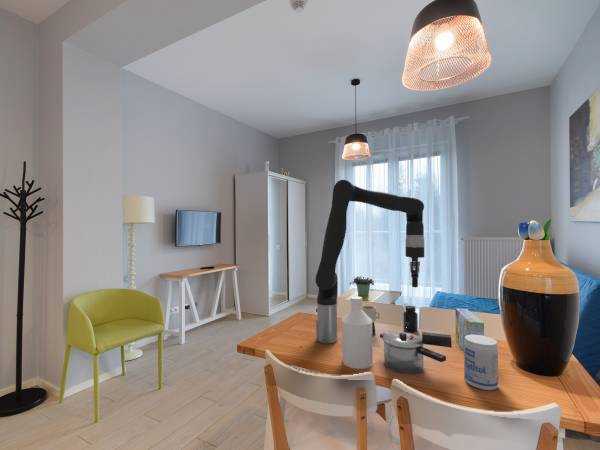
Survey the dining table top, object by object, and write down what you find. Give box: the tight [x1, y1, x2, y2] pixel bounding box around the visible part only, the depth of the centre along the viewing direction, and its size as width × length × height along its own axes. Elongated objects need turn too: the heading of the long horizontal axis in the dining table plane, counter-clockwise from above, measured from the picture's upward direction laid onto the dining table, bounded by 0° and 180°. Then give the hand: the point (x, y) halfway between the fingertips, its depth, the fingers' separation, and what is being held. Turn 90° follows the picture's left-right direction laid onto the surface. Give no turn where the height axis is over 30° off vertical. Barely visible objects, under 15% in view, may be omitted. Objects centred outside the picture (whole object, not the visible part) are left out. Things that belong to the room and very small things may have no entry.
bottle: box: [341, 295, 373, 370], centre depth 113 cm, size 12×12×25 cm
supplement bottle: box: [402, 305, 419, 333], centre depth 148 cm, size 7×7×12 cm
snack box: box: [455, 308, 485, 352], centre depth 123 cm, size 21×6×15 cm, turn 166°
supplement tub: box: [463, 335, 499, 391], centre depth 96 cm, size 10×10×15 cm
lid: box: [382, 331, 452, 349], centre depth 108 cm, size 24×15×4 cm, turn 68°
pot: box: [379, 332, 447, 375], centre depth 108 cm, size 27×14×9 cm, turn 32°
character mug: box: [362, 304, 381, 335], centre depth 144 cm, size 11×7×13 cm, turn 61°
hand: (414, 287), depth 123 cm, fingers closed
